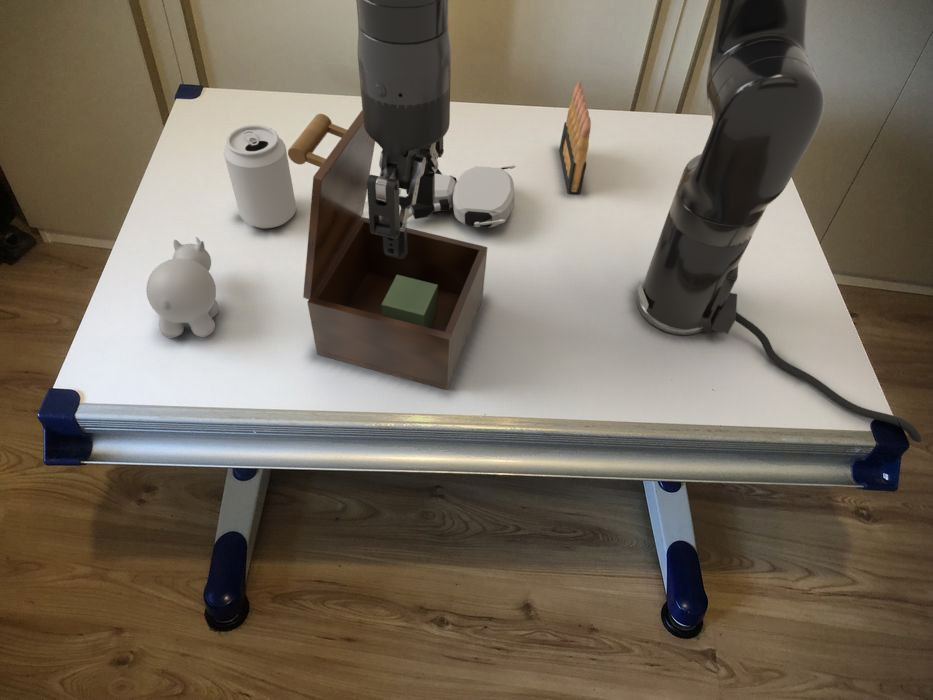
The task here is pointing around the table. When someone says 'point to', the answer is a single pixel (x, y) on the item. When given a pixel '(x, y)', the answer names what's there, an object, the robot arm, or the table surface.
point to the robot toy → (472, 196)
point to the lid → (333, 191)
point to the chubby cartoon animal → (184, 291)
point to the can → (260, 176)
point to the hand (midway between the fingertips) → (410, 227)
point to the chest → (389, 340)
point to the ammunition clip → (575, 141)
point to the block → (411, 301)
